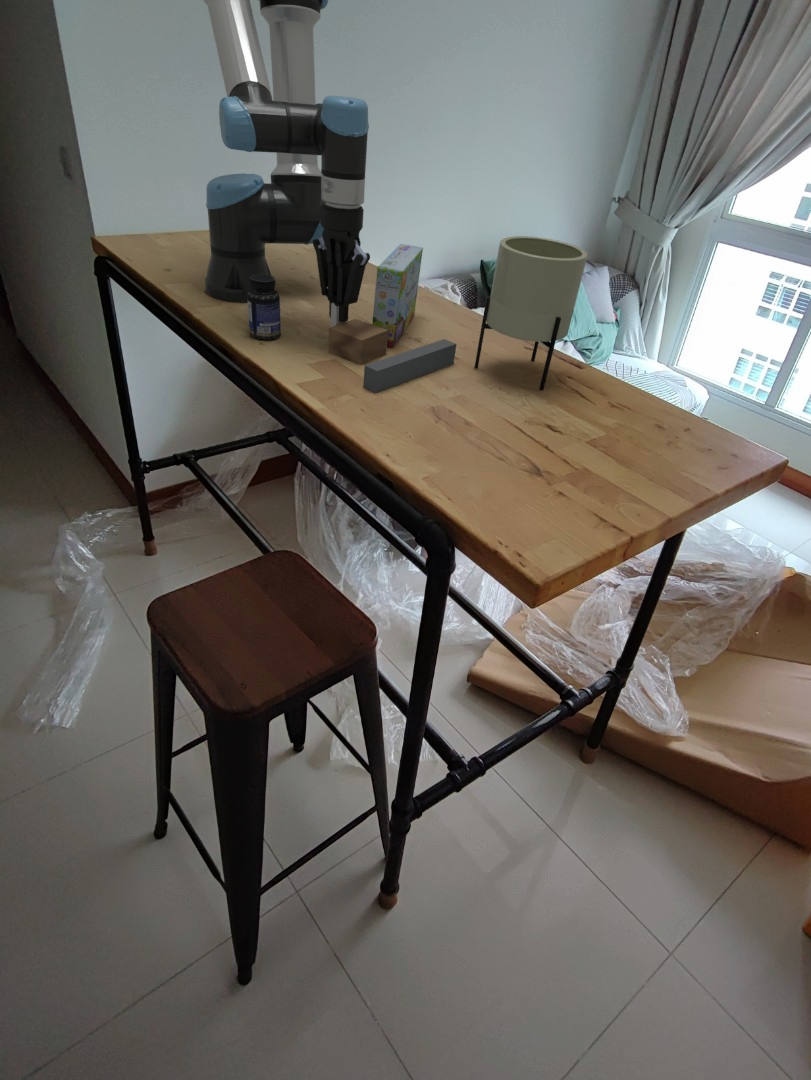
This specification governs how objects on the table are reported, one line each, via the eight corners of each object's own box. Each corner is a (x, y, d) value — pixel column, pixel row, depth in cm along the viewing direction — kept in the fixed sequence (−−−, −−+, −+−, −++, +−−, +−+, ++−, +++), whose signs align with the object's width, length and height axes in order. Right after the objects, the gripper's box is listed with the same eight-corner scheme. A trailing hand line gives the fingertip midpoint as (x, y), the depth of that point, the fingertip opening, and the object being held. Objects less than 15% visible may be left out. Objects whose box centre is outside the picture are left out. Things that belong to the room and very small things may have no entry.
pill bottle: (286, 334, 129) (286, 277, 122) (269, 343, 125) (267, 285, 118) (261, 327, 131) (258, 271, 124) (242, 336, 126) (239, 277, 120)
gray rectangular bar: (363, 386, 113) (364, 365, 111) (441, 358, 127) (444, 338, 125) (375, 392, 112) (377, 371, 109) (453, 363, 126) (456, 343, 123)
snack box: (396, 349, 129) (403, 270, 120) (369, 344, 130) (374, 266, 120) (416, 316, 146) (424, 245, 137) (392, 312, 146) (398, 241, 137)
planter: (508, 395, 117) (537, 262, 103) (463, 361, 127) (483, 236, 113) (573, 386, 123) (608, 259, 109) (525, 354, 134) (551, 235, 120)
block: (328, 353, 124) (329, 327, 121) (354, 343, 130) (355, 318, 127) (360, 366, 121) (362, 340, 118) (386, 355, 126) (388, 330, 123)
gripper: (301, 197, 113) (301, 330, 128) (352, 213, 107) (347, 351, 121) (332, 195, 118) (329, 323, 132) (383, 210, 112) (374, 342, 126)
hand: (337, 336), depth 127 cm, fingers closed
